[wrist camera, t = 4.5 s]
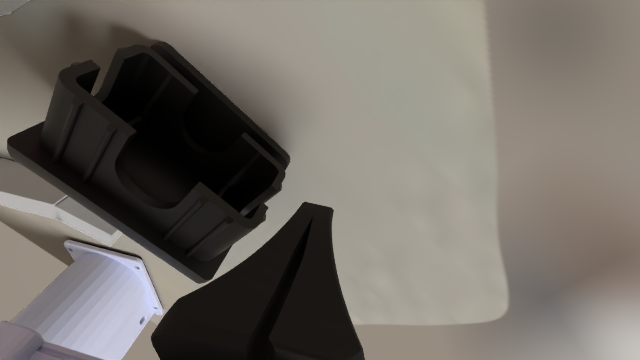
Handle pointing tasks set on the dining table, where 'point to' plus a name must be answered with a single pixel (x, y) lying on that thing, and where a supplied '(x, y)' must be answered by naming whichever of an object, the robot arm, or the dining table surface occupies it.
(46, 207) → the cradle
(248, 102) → the dining table surface
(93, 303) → the robot arm
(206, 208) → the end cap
